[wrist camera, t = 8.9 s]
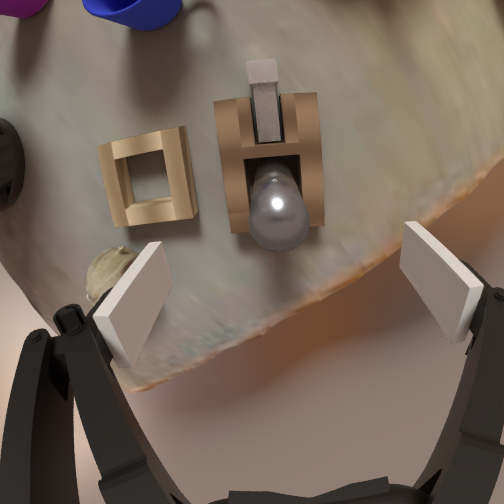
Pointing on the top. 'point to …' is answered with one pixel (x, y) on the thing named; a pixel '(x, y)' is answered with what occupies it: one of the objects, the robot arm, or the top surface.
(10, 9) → the beverage can
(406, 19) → the top surface
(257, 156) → the socket block
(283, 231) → the peg
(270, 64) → the drift key
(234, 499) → the robot arm
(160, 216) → the frame
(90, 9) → the mug
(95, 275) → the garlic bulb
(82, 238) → the top surface
